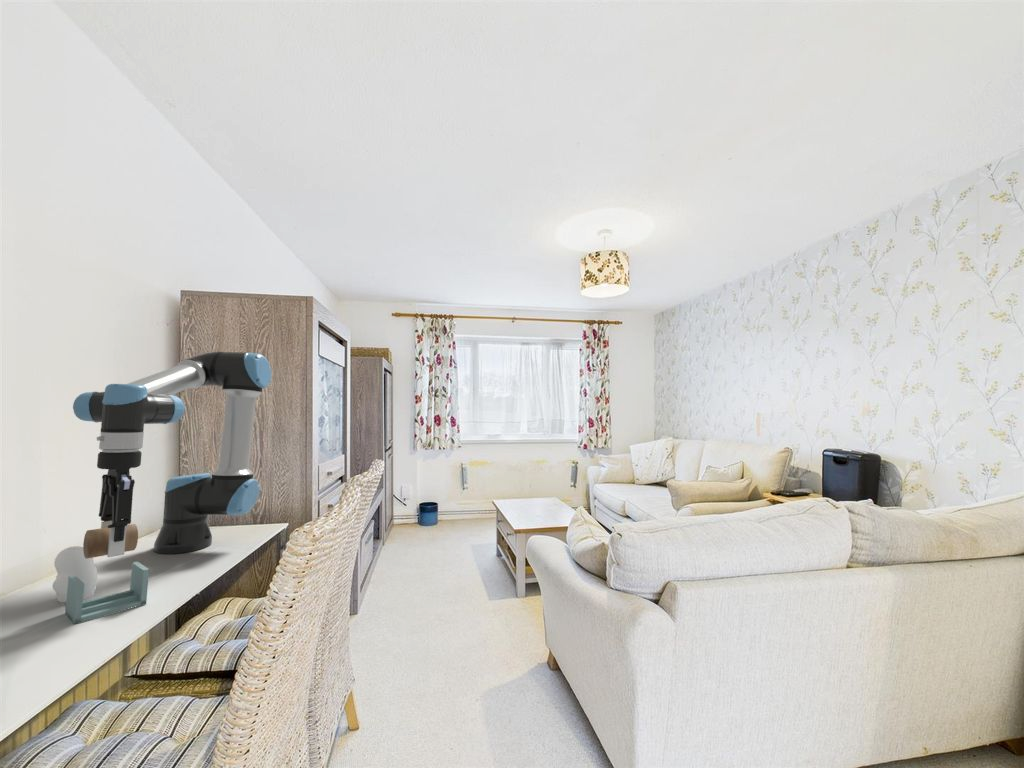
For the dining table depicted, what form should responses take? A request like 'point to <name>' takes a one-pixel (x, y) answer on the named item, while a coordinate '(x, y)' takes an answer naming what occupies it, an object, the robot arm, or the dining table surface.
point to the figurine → (74, 572)
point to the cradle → (106, 597)
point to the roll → (107, 541)
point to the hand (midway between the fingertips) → (111, 552)
